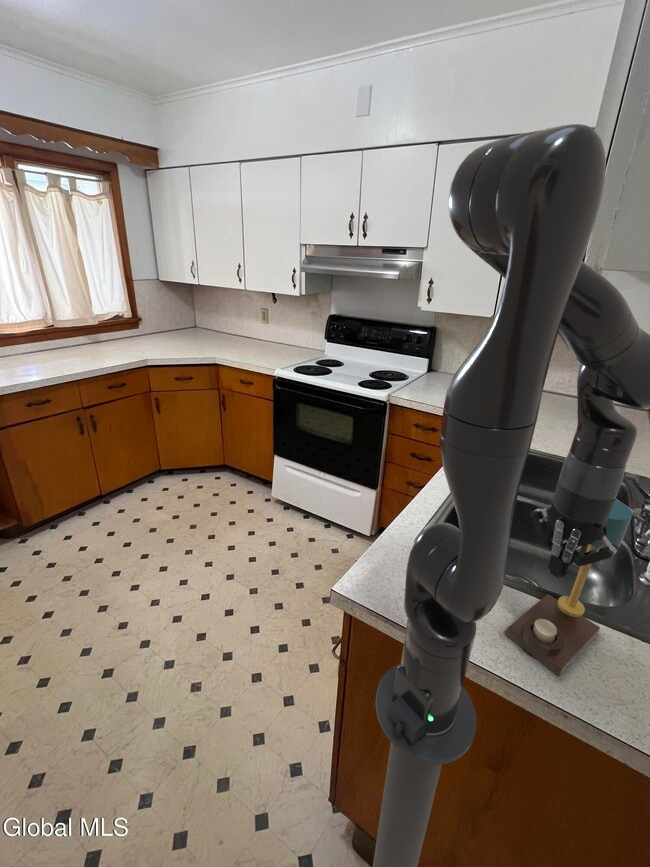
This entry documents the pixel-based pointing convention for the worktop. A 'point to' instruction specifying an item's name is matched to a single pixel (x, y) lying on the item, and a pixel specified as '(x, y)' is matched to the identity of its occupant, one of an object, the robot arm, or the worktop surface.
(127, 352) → the worktop surface
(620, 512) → the lamp
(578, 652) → the lamp base
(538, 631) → the lamp switch
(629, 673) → the worktop surface
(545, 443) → the worktop surface
